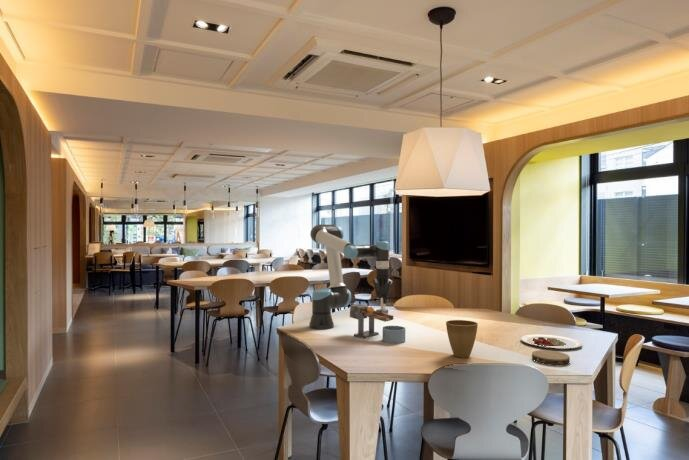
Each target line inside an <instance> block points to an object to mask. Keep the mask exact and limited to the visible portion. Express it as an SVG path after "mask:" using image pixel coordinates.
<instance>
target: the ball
mask: <svg viewBox="0 0 689 460" xmlns="http://www.w3.org/2000/svg"><path fill="white" fill-rule="evenodd" d="M374 311H375V310H374V307H373V306H368V308H367V312H369V313H373V312H374Z"/></svg>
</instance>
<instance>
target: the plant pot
mask: <svg viewBox="0 0 689 460" xmlns="http://www.w3.org/2000/svg"><path fill="white" fill-rule="evenodd" d="M478 324H479V323H478V322H476V321H473V320H464V319H450V320H447V321H445V326H446V332H447V337H448V342H449V345H450V349H451V351H452V354H453V356H454V357H456V358H463V359H464V358H470V356H471V354H472V351H473V349H474V346H475V345H474V344H475V340H476V337H477V332H478Z"/></svg>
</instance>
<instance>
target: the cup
mask: <svg viewBox="0 0 689 460" xmlns="http://www.w3.org/2000/svg"><path fill="white" fill-rule="evenodd" d="M382 342H384V343H386V344H394V345H395V344H404V343H406V327H404V326H400V325H385V326H383V327H382Z"/></svg>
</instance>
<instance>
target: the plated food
mask: <svg viewBox="0 0 689 460" xmlns="http://www.w3.org/2000/svg"><path fill="white" fill-rule="evenodd" d="M531 338H533V340H532V341H534V344H537V345H535V346H534V344H531V343H529V342H527V340H528V339H531ZM535 338H538V339H535ZM545 338H547V340H546V339H545ZM557 339H562V340H567V341H571V342H573V343H575V344H576V345H575V346H574V347H570V348H571V349H576V348H580V347H582V346H583V343H582V342H581V341H579V340H577V339H574V338H571V337H567V336H561V335H554V334H539V333H538V334H537V333H536V334H527V335H522V336H521V337H520V341H522V342H523V343H526V344H529V345H531V346H534V347H537V346H539V345H541V346H540V347H539V348H542V347H546V346H564V345H566V343H564V342H563V341H560V340H557ZM543 345H544V346H543ZM548 348H555V347H546V348H545V349H548ZM570 348H555V349H554V350H570Z"/></svg>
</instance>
